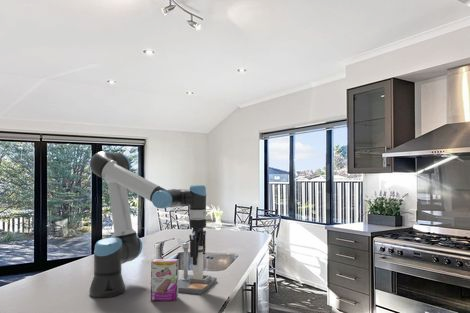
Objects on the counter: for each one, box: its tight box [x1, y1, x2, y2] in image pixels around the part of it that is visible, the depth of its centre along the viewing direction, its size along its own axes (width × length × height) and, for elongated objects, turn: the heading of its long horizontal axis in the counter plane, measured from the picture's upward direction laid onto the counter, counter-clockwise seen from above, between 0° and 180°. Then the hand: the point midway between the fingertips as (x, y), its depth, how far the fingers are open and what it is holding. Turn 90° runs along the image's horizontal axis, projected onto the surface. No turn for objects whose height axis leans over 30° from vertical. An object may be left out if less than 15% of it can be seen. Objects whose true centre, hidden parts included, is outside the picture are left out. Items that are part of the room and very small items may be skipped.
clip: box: [177, 238, 190, 250], centre depth 178 cm, size 3×15×2 cm, turn 23°
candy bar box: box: [150, 258, 180, 302], centre depth 151 cm, size 11×5×16 cm, turn 92°
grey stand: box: [178, 249, 218, 295], centre depth 168 cm, size 20×16×17 cm
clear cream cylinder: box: [192, 246, 204, 279], centre depth 161 cm, size 5×5×14 cm
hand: (198, 270), depth 161 cm, fingers closed on clear cream cylinder, 4 cm apart
